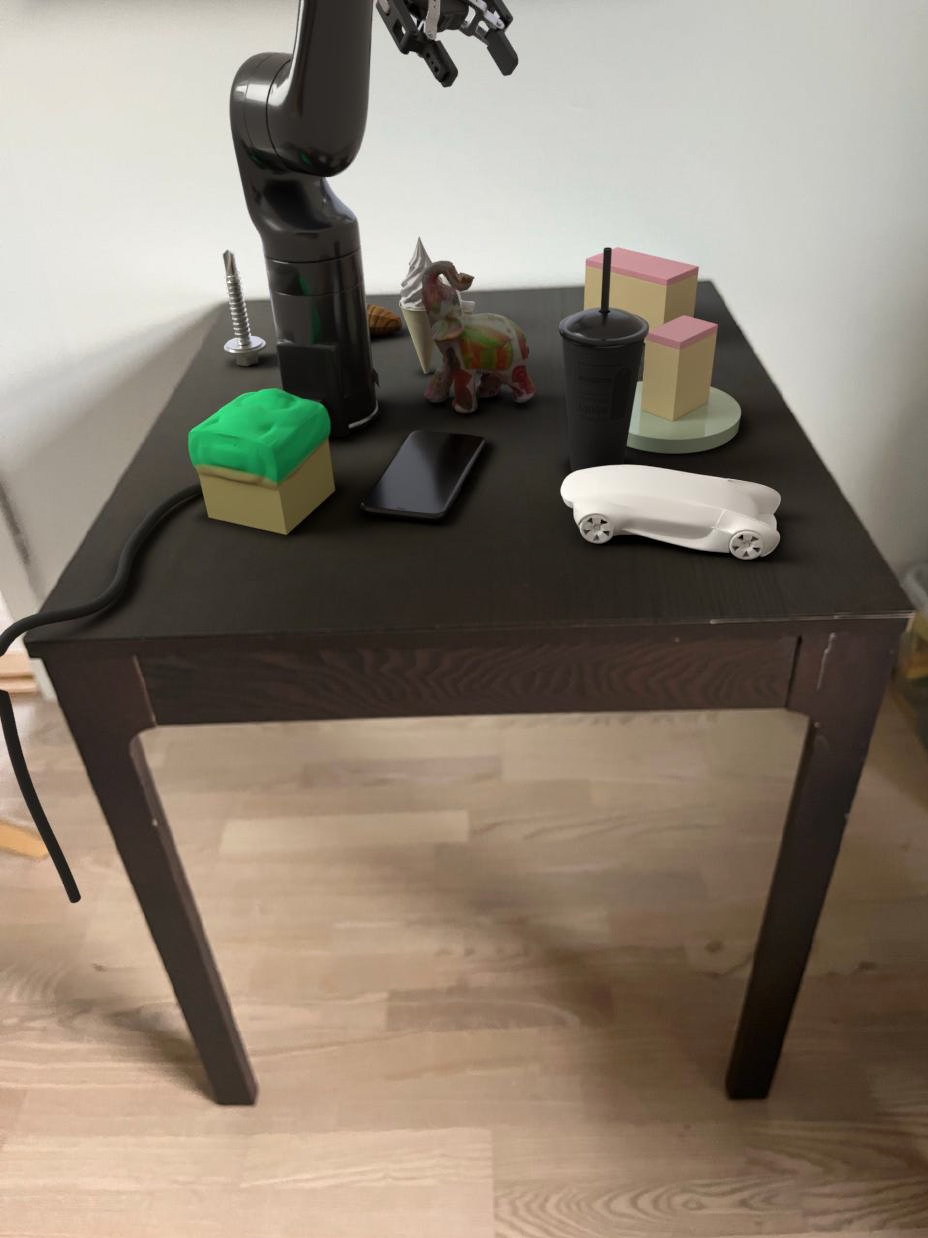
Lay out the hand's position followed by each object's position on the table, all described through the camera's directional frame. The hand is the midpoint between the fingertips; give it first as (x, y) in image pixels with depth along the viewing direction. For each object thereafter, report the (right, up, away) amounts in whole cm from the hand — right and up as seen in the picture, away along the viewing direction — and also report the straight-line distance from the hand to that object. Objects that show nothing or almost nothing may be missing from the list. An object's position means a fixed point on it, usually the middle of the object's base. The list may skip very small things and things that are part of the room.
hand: (483, 75), depth 98 cm
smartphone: (-5, -42, -8) cm, 43 cm away
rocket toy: (-4, -19, +23) cm, 30 cm away
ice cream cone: (-6, -27, +12) cm, 30 cm away
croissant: (-16, -20, +23) cm, 34 cm away
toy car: (+15, -47, -16) cm, 52 cm away
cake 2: (+19, -20, +20) cm, 34 cm away
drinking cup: (+11, -41, -7) cm, 43 cm away
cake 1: (-19, -44, -10) cm, 49 cm away
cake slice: (+19, -34, -1) cm, 39 cm away
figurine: (0, -32, +5) cm, 33 cm away
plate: (+19, -35, 0) cm, 40 cm away
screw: (-28, -25, +17) cm, 41 cm away
